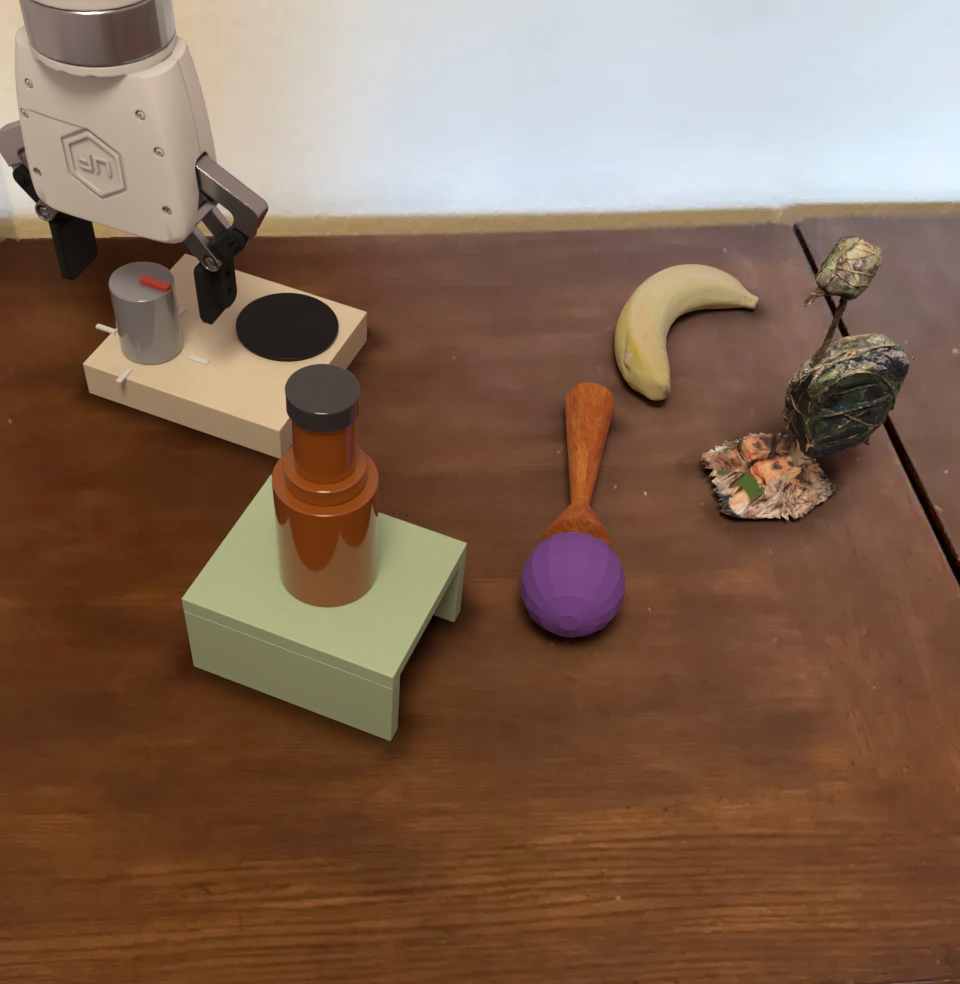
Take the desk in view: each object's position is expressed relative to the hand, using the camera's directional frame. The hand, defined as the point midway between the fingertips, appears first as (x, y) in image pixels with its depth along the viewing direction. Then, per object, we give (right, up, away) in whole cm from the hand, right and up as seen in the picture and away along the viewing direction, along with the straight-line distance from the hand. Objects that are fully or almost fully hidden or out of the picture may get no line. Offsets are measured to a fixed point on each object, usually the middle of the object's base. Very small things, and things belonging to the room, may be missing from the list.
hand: (149, 289), depth 78 cm
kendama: (+26, -15, 0) cm, 30 cm away
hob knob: (-1, -3, +4) cm, 4 cm away
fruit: (+35, -1, +12) cm, 37 cm away
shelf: (+12, -22, -6) cm, 26 cm away
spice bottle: (+12, -18, -11) cm, 25 cm away
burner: (+8, -1, +6) cm, 10 cm away
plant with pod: (+40, -12, +4) cm, 42 cm away
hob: (+4, -3, +7) cm, 8 cm away
